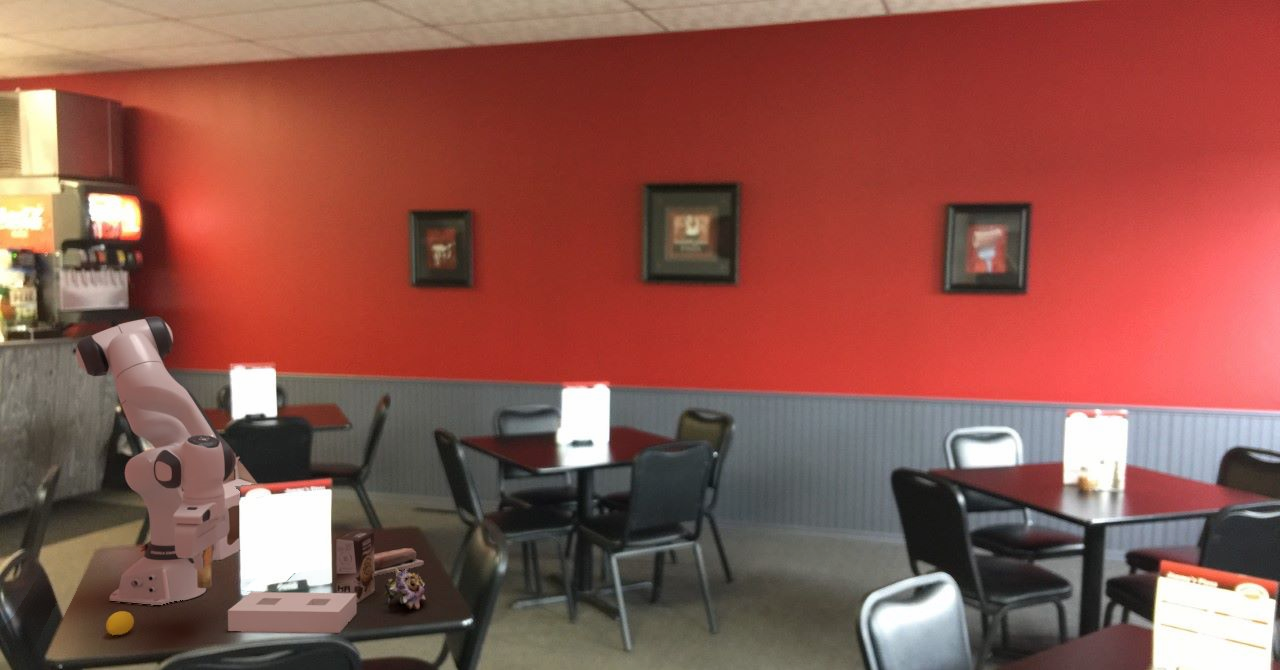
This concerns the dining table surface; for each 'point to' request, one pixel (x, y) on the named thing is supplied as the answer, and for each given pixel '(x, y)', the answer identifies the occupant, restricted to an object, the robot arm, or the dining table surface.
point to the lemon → (119, 623)
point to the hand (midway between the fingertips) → (203, 565)
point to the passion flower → (406, 588)
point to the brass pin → (205, 571)
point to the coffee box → (355, 564)
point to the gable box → (233, 510)
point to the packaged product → (395, 561)
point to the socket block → (292, 612)
